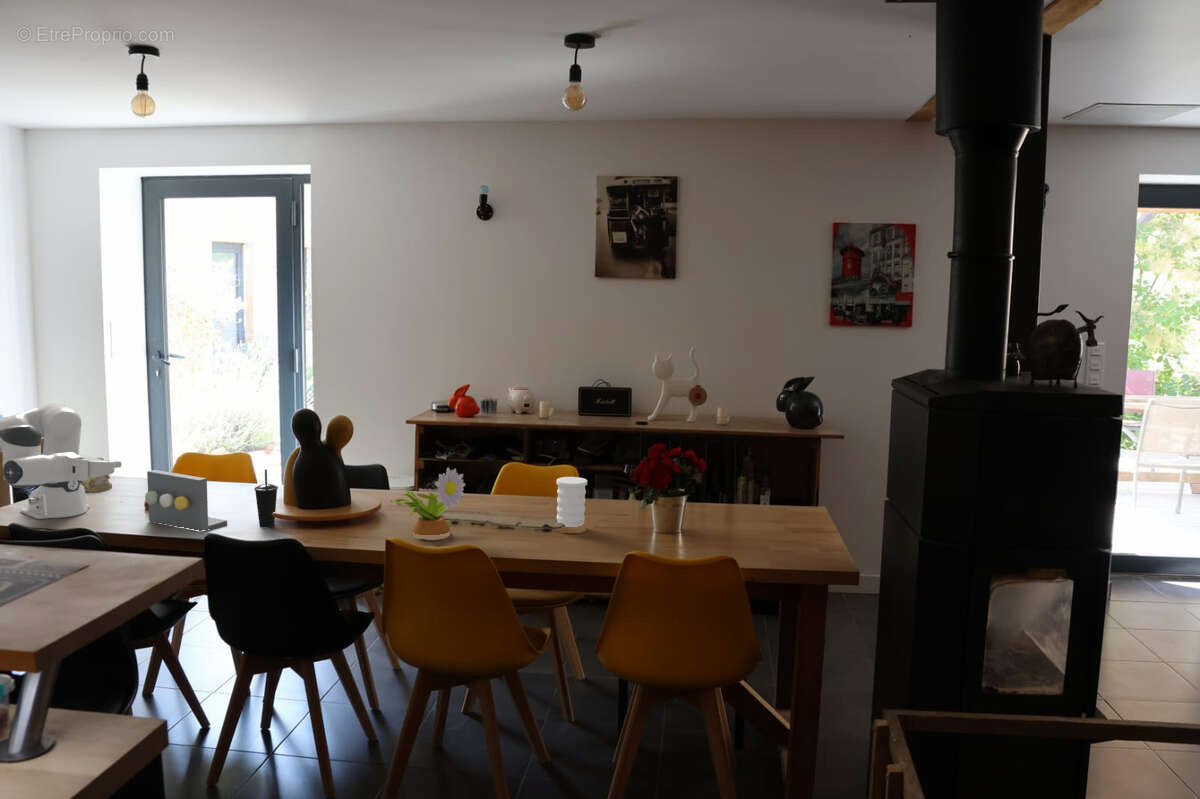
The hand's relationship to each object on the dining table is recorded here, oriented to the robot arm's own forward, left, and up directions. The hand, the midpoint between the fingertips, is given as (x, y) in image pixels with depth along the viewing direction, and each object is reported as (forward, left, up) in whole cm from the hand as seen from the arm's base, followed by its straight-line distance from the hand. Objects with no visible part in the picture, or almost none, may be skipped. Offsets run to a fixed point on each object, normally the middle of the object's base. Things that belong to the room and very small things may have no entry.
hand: (111, 462), depth 278 cm
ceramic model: (-70, +43, -27) cm, 87 cm away
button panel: (+2, +27, -26) cm, 37 cm away
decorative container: (+120, +88, -26) cm, 151 cm away
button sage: (-5, +19, -18) cm, 27 cm away
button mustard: (+9, +18, -18) cm, 28 cm away
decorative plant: (+81, +59, -26) cm, 103 cm away
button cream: (+2, +18, -18) cm, 26 cm away
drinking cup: (+27, +38, -26) cm, 53 cm away
